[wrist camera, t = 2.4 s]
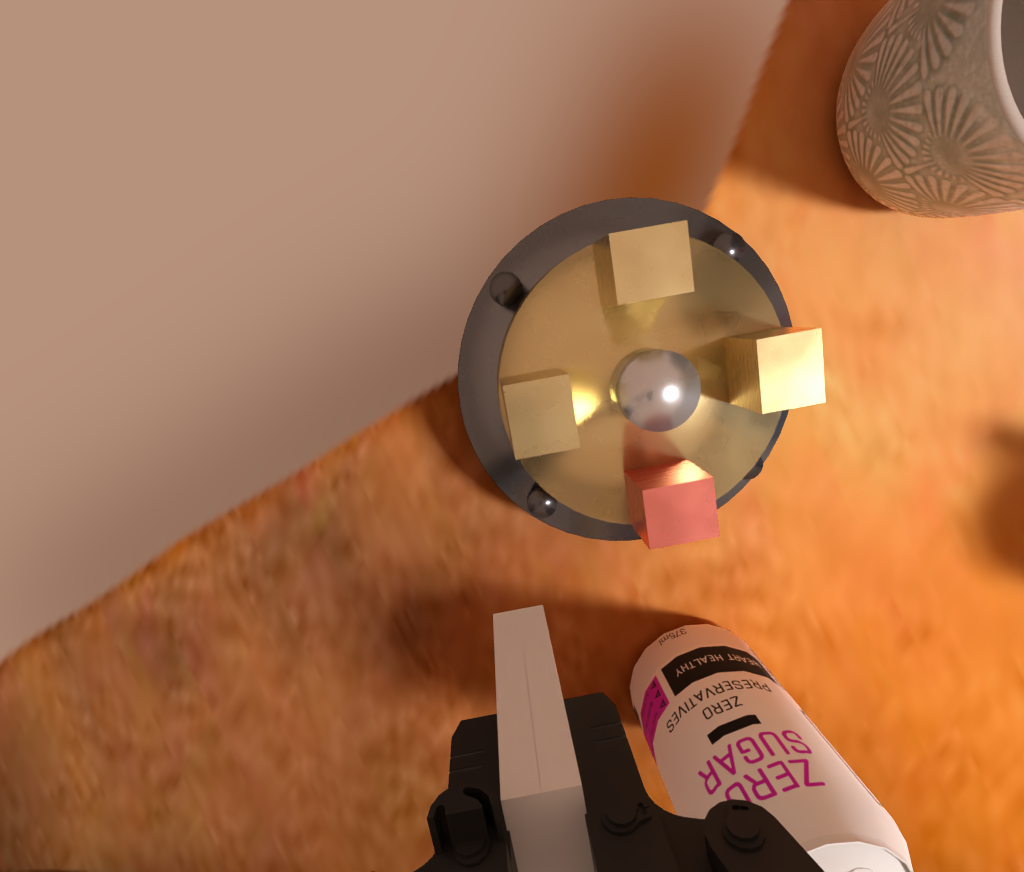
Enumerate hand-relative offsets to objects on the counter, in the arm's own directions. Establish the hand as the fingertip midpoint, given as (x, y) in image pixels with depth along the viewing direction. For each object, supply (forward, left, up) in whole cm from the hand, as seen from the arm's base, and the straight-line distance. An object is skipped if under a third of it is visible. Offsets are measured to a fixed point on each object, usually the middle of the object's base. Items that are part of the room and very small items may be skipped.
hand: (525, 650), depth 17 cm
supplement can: (+10, -15, -17) cm, 24 cm away
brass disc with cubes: (+8, +5, -14) cm, 17 cm away
